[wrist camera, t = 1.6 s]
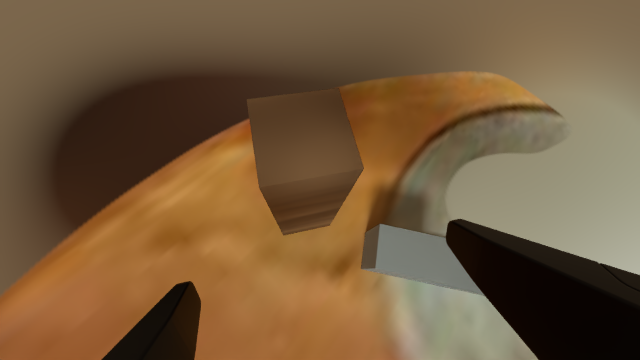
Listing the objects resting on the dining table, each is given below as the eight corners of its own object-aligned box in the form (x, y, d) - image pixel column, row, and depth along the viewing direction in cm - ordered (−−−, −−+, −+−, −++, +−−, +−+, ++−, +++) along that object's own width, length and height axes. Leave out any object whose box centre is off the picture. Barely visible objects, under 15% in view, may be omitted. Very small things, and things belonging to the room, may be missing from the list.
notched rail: (553, 310, 19) (615, 319, 15) (361, 268, 19) (375, 268, 15) (547, 271, 20) (603, 271, 16) (365, 232, 20) (379, 223, 16)
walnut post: (329, 225, 20) (364, 168, 9) (283, 235, 20) (259, 187, 8) (319, 183, 21) (338, 87, 10) (276, 191, 21) (246, 99, 10)
